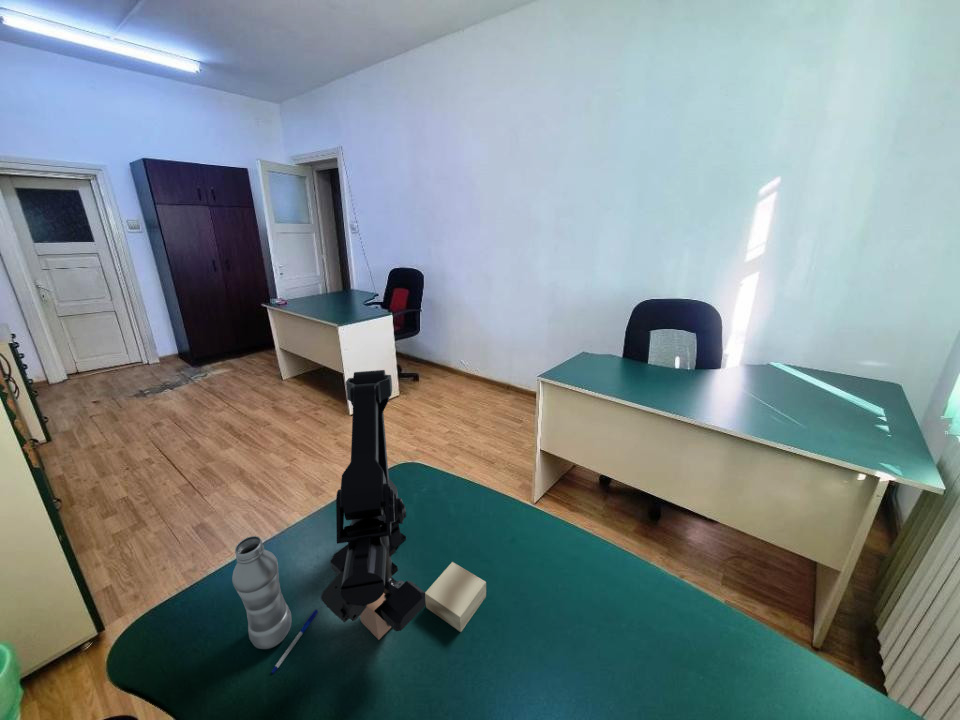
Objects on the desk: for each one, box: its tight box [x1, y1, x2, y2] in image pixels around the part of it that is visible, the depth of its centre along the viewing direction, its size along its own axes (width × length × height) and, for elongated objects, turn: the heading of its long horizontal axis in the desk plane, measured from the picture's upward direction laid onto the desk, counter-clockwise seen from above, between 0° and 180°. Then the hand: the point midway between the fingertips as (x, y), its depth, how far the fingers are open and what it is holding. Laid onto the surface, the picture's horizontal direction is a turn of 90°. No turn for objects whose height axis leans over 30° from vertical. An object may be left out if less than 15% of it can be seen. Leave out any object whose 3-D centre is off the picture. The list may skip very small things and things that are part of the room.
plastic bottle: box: [231, 535, 292, 650], centre depth 61 cm, size 6×7×20 cm
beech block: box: [424, 561, 487, 633], centre depth 69 cm, size 8×8×4 cm
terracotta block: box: [359, 593, 392, 641], centre depth 65 cm, size 5×5×6 cm
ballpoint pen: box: [270, 609, 318, 675], centre depth 63 cm, size 10×1×1 cm, turn 165°
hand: (380, 615), depth 66 cm, fingers closed on terracotta block, 5 cm apart
